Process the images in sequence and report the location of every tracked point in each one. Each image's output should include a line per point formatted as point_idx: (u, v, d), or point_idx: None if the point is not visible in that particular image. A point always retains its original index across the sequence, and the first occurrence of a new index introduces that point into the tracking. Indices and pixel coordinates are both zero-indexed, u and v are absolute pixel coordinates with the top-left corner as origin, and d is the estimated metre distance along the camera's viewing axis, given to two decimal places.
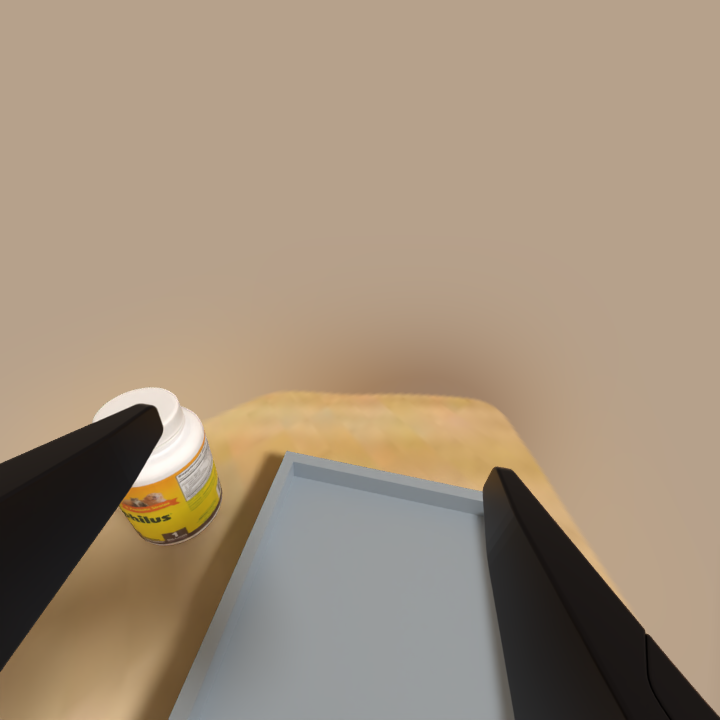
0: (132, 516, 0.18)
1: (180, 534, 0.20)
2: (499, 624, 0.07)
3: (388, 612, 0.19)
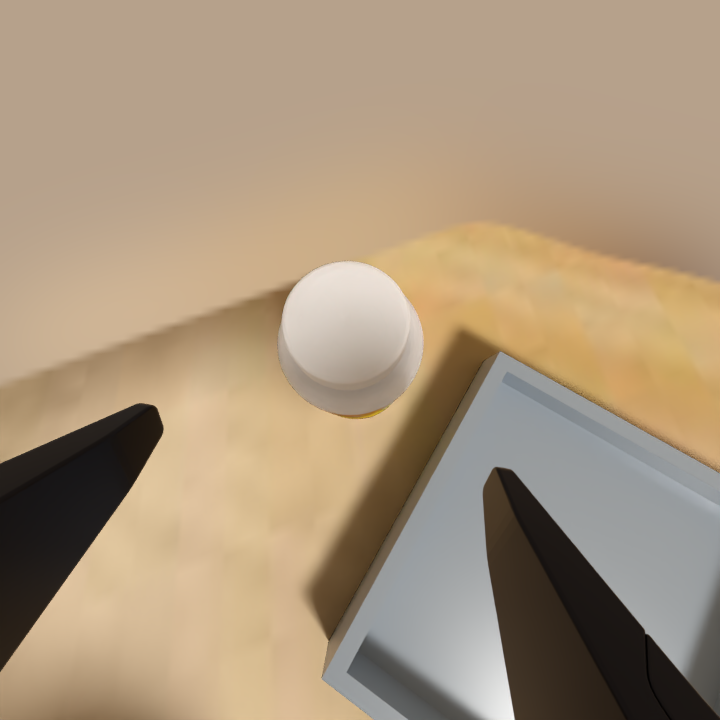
0: None
1: (360, 418, 0.17)
2: (499, 624, 0.07)
3: None
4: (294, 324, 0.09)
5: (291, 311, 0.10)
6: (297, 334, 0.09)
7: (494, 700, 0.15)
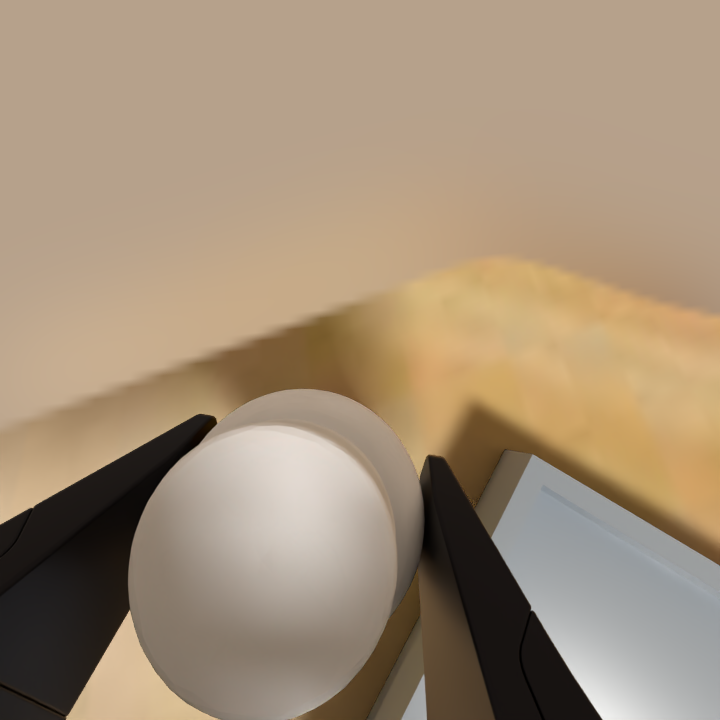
0: None
1: None
2: (420, 608, 0.07)
3: None
4: (152, 575, 0.04)
5: (149, 542, 0.05)
6: (157, 599, 0.04)
7: None
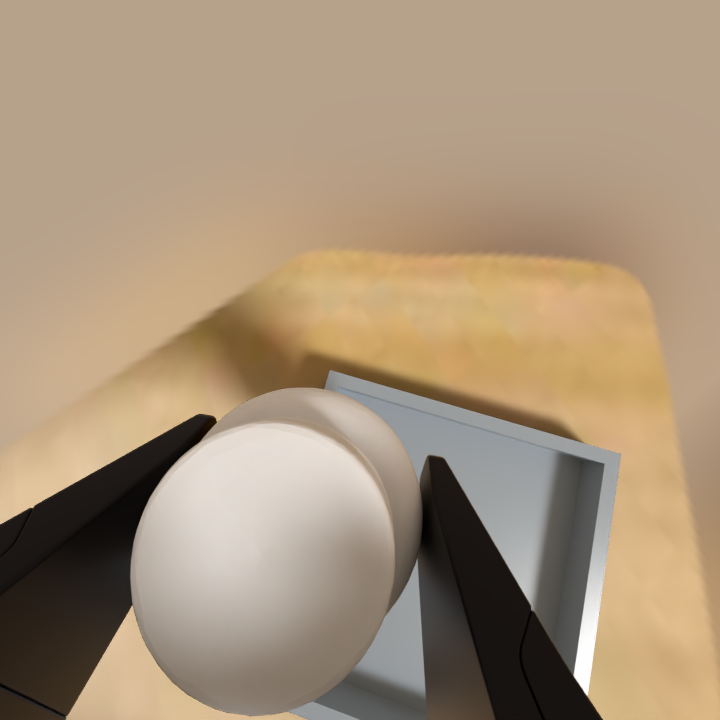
0: None
1: None
2: (421, 608, 0.07)
3: None
4: (154, 570, 0.05)
5: (150, 538, 0.05)
6: (159, 593, 0.04)
7: (388, 659, 0.18)
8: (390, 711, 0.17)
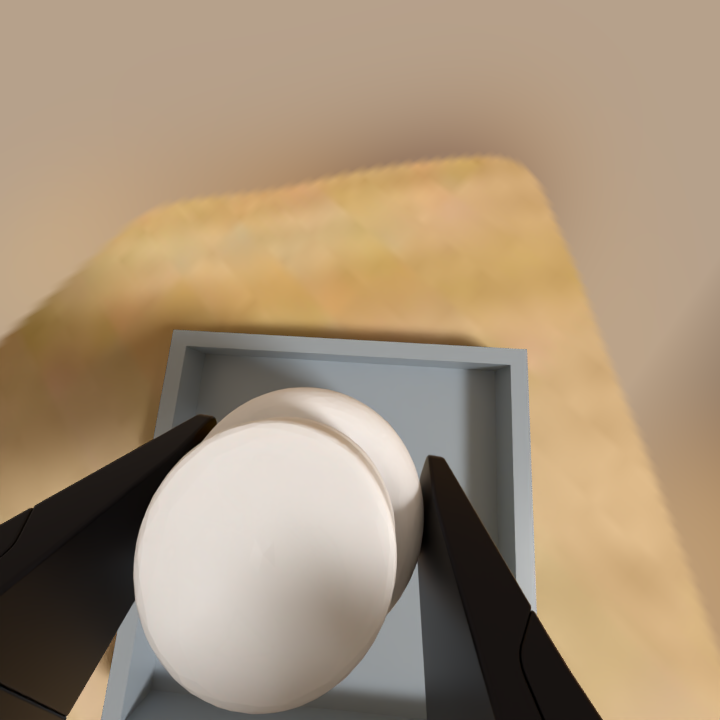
0: None
1: None
2: (420, 607, 0.07)
3: None
4: (157, 569, 0.05)
5: (153, 537, 0.05)
6: (161, 592, 0.05)
7: None
8: None
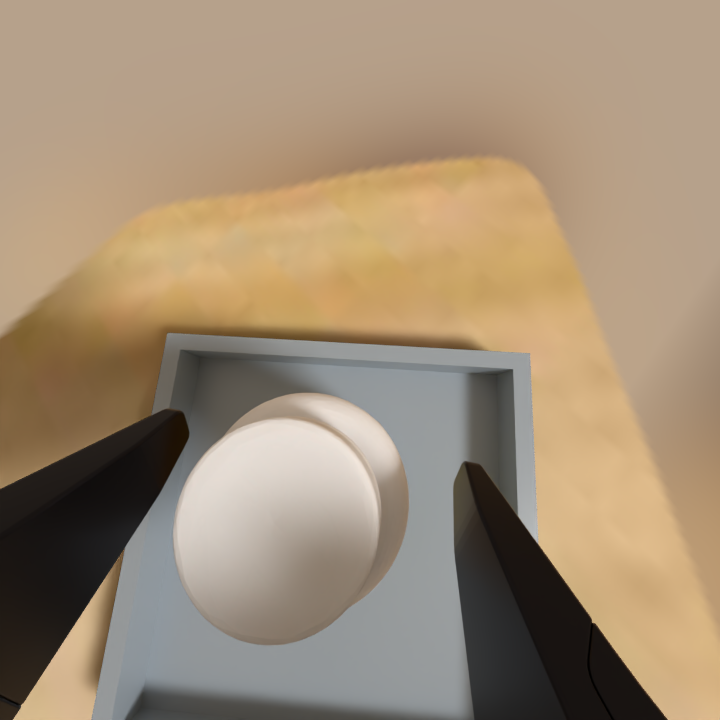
0: None
1: None
2: (462, 616, 0.07)
3: None
4: (191, 533, 0.06)
5: (189, 508, 0.06)
6: (195, 551, 0.06)
7: (304, 675, 0.14)
8: None
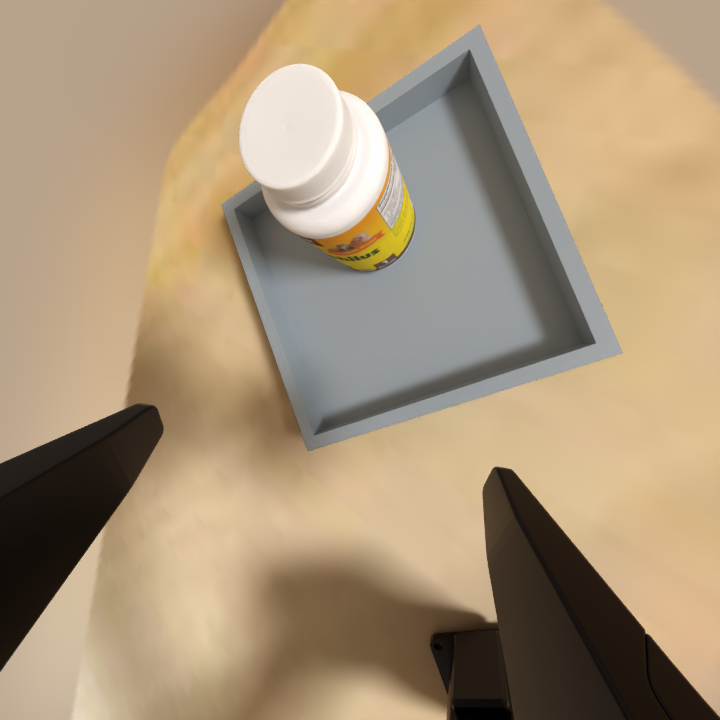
0: (341, 258, 0.16)
1: (390, 260, 0.18)
2: (499, 624, 0.07)
3: None
4: (253, 159, 0.11)
5: (246, 151, 0.11)
6: (258, 165, 0.11)
7: (414, 368, 0.20)
8: (432, 394, 0.19)
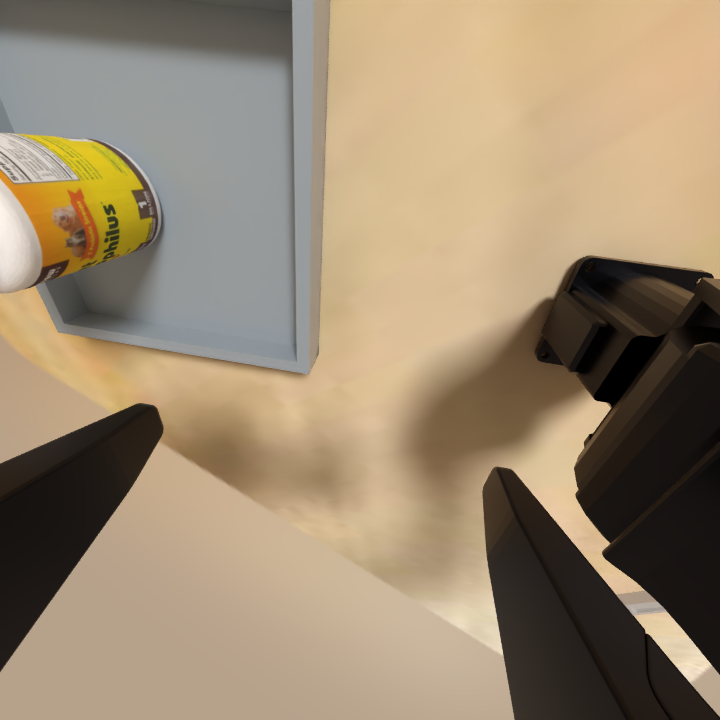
0: (108, 248, 0.15)
1: (143, 198, 0.16)
2: (499, 624, 0.07)
3: None
4: None
5: None
6: None
7: (274, 233, 0.18)
8: None
